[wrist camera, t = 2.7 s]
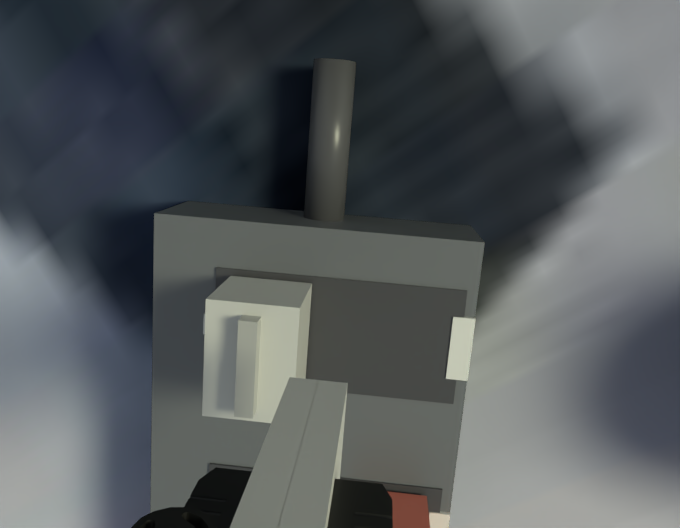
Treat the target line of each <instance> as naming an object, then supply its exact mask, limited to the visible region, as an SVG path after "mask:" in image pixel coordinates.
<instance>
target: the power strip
mask: <svg viewBox="0 0 680 528" xmlns="http://www.w3.org/2000/svg"><path fill="white" fill-rule="evenodd" d="M355 71H356V62H353V61H348V60H340V59H326V58H318V59H314V67H313V82H312V98H311V113H310V129H309V144H308V160H307V175H306V190H305V206H304V211H297V210H286V209H274V208H263V207H251V206H240V205H228V204H217V203H205V202H194V201H187V202H184V203H181V204H179V205H176V206H173V207H170V208H167V209H165V210H162V211H159V212H156V213H154V261H153V344H152V426H151V508H150V513H152V512H154V511H157V510H161V509H165V508H169V507H184V506H185V504H186V502H187V501H188V499H189V498H190V495H191V493H192V491H193V489H194V488H195V486H196V484H197V482H198V480H199V479H200V478H202V477H203V476H205V475H206V474H207V473H209V472H210V471H211V470H213V469H214V468H215V467H217V468H226V469H235V470H244V471H252V470H253V468H254V465H255V463H256V460H257V458H258V455H259V453H260V450H261V448H262V445H263V443H264V440H265V438H266V435H267V433H268V430H269V428H270V425H271V423H264V422H255V421H246V420H236V419H227V418H218V417H208V416H202V401H203V369H204V337H205V305H206V298H207V297H208V296H209V295H211V294H212V293H213V292H214V291H215V290H216V289H217V288H218V287H219V286H220V285H221V284H222V283H223V282H224V281H226V280H227V279H228V278H229V277H230V276H239V277H250V278H260V279H271V280H282V281H292V282H303V283H312V293H311V307H310V322H309V336H308V350H307V365H306V379H313V380H323V381H333V382H343V383H348V386H347V398H346V410H345V422H344V434H343V446H342V459H341V471H340V479H343V480H352V481H361V482H370V483H380V484H383V486H384V487H385V489H386V490H387V491H388V492H397V493H406V494H414V495H423V496H427V502H428V512H429V521H430V528H449V520H450V507H451V499H452V491H453V483H454V476H455V468H456V460H457V453H458V445H459V437H460V429H461V422H462V414H463V406H464V398H465V391H466V383H467V381H468V373H469V366H470V358H471V350H472V342H473V335H474V327H475V313H476V306H477V298H478V290H479V282H480V275H481V267H482V259H483V252H484V244H485V242H484V241H483V240H482V239H481V238H480V236H479V235H478V234H477V233H476V232H475V231H474V229H473V228H472V227H471V226H470V225H458V224H447V223H435V222H424V221H412V220H401V219H389V218H378V217H366V216H355V215H344V210H345V198H346V185H347V172H348V160H349V147H350V134H351V122H352V109H353V96H354V83H355Z"/></svg>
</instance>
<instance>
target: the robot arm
mask: <svg viewBox="0 0 680 528" xmlns="http://www.w3.org/2000/svg"><path fill="white" fill-rule="evenodd" d="M347 386H348V383H343V382H333V381H323V380H313V379H303V378H293V377H289V380H288V382H287V385H286V387H285V390H284V392H283V395H282V397H281V400H280V402H279V405H278V407H277V410H276V412H275V415H274V417H273V420H272V422H271V425H270V428H269V430H268V433H267V435H266V438H265V440H264V443H263V445H262V448H261V450H260V453H259V455H258V458H257V460H256V463H255V465H254V468H253V470H252V471H244V470H235V469H226V468H217V467H215V468H214V469H213V470H211V471H210V472H209V473H207V474H206V475H205V476H203V477H202V478H200V479H199V480H198V482H197V484H196V486H195V488H194V489H193V491H192V493H191V495H190V498H189V499H188V501H187V502H186V504H185V506H184V507H169V508H165V509H161V510H157V511H154V512H152V513H150V514H148V515H146V516H144V517H142V518H140V519H139V520H138V521H137V522H136V523H135V524H134V525H133V526H132V527H131V528H393V519H392V517H393V507H392V498H391V496H390V495H389V493H388V492H387V490H386V489H385V487H384V486H383V484H380V483H370V482H361V481H352V480H343V479H340V471H341V459H342V446H343V434H344V422H345V410H346V398H347Z"/></svg>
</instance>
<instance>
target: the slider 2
mask: <svg viewBox="0 0 680 528" xmlns="http://www.w3.org/2000/svg"><path fill="white" fill-rule="evenodd" d="M387 492H388V491H387ZM388 493H389V495H390V496H391V498H392V507H393V517H392V519H393V528H430V521H429V512H428V502H427V496H423V495H414V494H406V493H397V492H388Z"/></svg>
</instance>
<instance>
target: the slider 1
mask: <svg viewBox="0 0 680 528" xmlns="http://www.w3.org/2000/svg"><path fill="white" fill-rule="evenodd" d="M311 293H312V283H303V282H292V281H282V280H271V279H260V278H250V277H239V276H230V277H229V278H228V279H227V280H226V281H224V282H223V283H222V284H221V285H220V286H219V287H218V288H217V289H216V290H215V291H214V292H213V293H212V294H211V295H209V296H208V297H207V298H206V305H205V337H204V369H203V401H202V416H208V417H218V418H227V419H236V420H246V421H255V422H264V423H271V422H272V420H273V417H274V415H275V412H276V410H277V407H278V405H279V402H280V400H281V397H282V395H283V392H284V390H285V387H286V385H287V382H288V380H289V377H293V378H303V379H306V365H307V350H308V336H309V322H310V307H311Z"/></svg>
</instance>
